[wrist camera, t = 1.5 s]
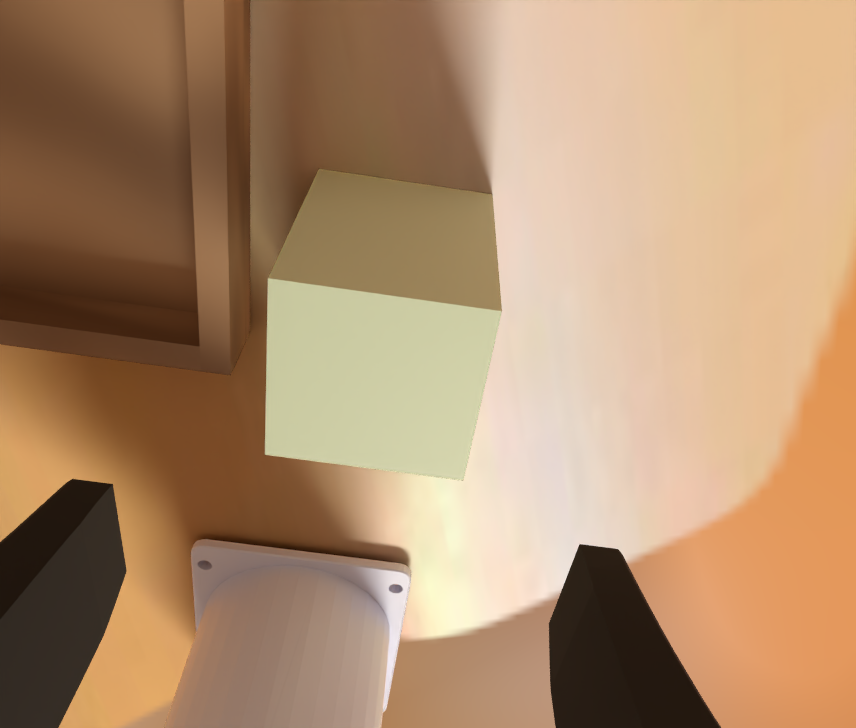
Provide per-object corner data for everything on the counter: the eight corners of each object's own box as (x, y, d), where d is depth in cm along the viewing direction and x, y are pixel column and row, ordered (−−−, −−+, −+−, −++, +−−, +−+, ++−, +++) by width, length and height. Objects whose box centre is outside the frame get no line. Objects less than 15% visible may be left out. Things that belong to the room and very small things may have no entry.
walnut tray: (250, 331, 22) (230, 375, 20) (-133, 279, 21) (-188, 318, 20) (250, -164, 15) (220, -167, 13) (-312, -258, 15) (-422, -273, 13)
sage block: (464, 338, 22) (463, 480, 17) (310, 317, 22) (265, 455, 17) (492, 193, 19) (501, 310, 14) (319, 168, 19) (267, 278, 14)
